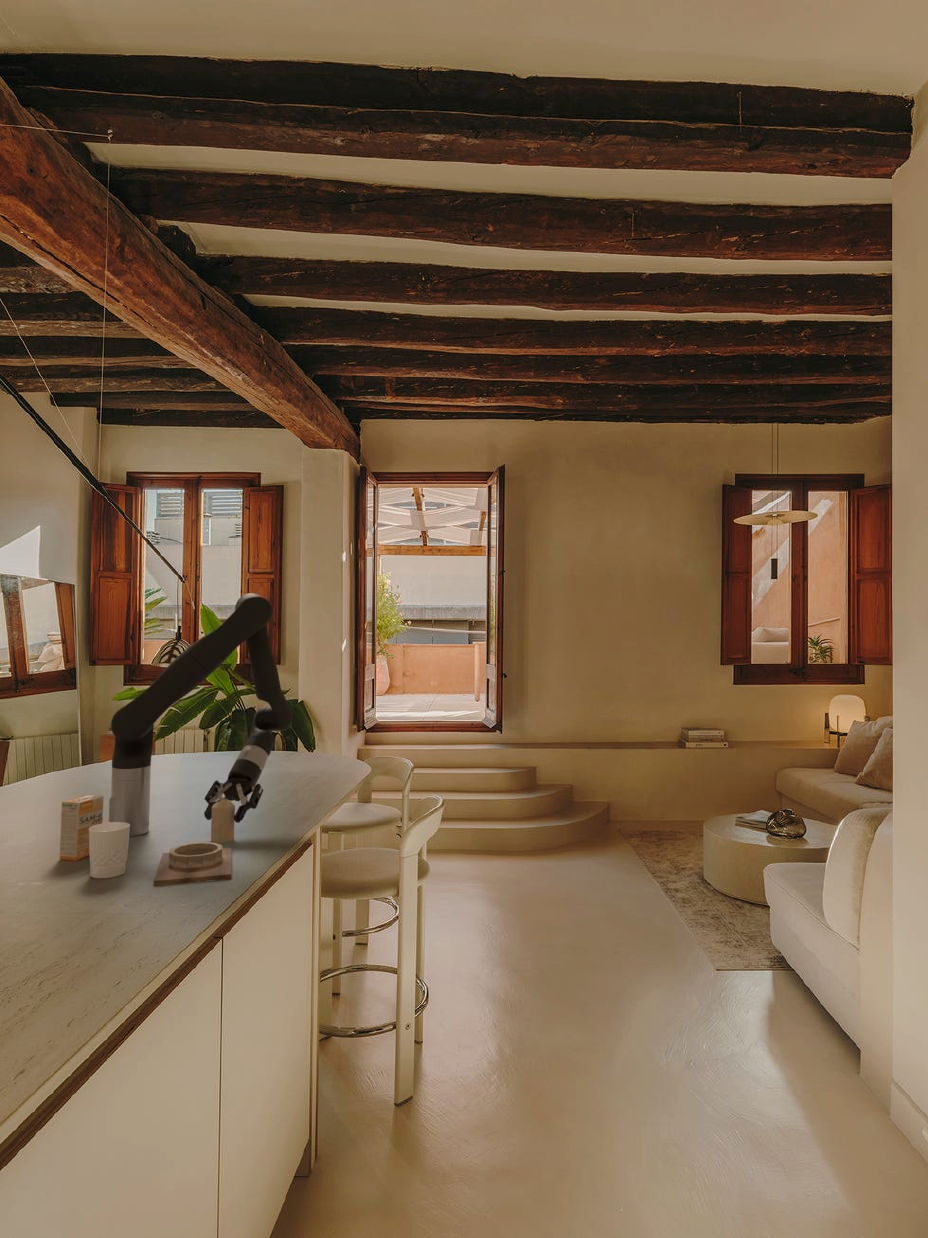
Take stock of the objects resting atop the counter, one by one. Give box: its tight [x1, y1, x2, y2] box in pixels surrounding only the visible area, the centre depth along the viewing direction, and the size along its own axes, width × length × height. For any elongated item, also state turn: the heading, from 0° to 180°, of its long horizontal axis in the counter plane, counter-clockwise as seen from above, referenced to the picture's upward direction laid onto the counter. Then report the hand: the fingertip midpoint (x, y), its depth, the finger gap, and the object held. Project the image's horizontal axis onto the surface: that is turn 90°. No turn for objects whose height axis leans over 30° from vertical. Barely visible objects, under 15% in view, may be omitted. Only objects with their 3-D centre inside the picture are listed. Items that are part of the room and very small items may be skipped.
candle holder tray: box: [153, 841, 232, 887], centre depth 154 cm, size 15×20×4 cm
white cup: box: [88, 821, 130, 879], centre depth 150 cm, size 8×8×10 cm
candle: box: [210, 799, 236, 844], centre depth 176 cm, size 6×6×10 cm
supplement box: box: [59, 794, 104, 862], centre depth 162 cm, size 8×5×13 cm, turn 168°
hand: (221, 819), depth 175 cm, fingers open, 8 cm apart
